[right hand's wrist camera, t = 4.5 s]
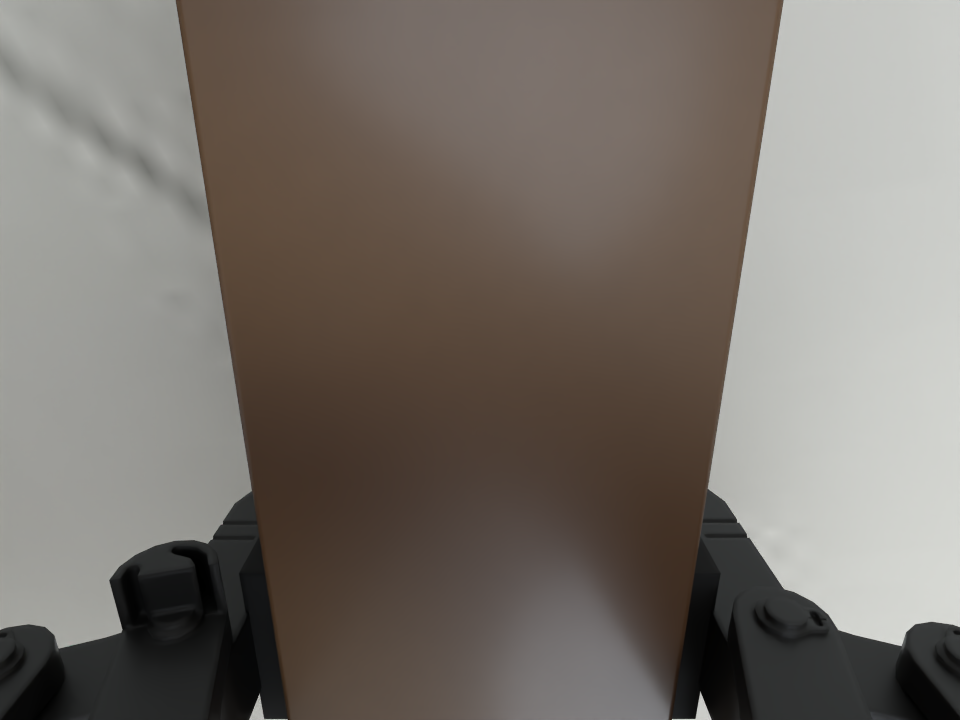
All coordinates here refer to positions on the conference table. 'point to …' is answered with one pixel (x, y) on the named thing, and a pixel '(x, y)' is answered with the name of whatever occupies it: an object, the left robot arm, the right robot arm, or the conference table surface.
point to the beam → (479, 332)
